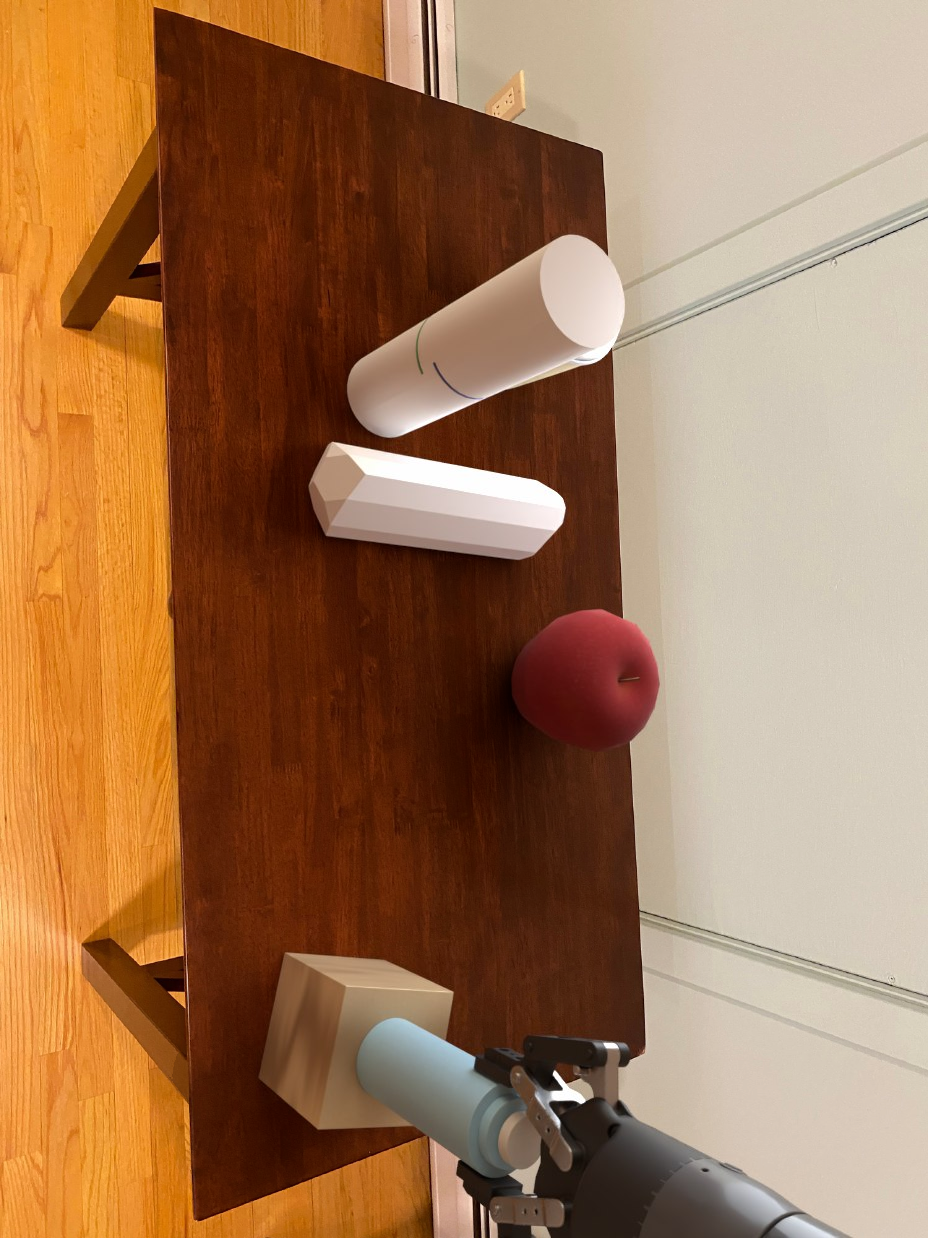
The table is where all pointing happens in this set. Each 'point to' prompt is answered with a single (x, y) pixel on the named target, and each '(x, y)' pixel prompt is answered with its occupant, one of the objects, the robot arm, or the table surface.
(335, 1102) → the cube
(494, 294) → the cylindrical container
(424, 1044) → the bottle
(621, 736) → the apple
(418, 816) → the table surface
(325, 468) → the crystal
